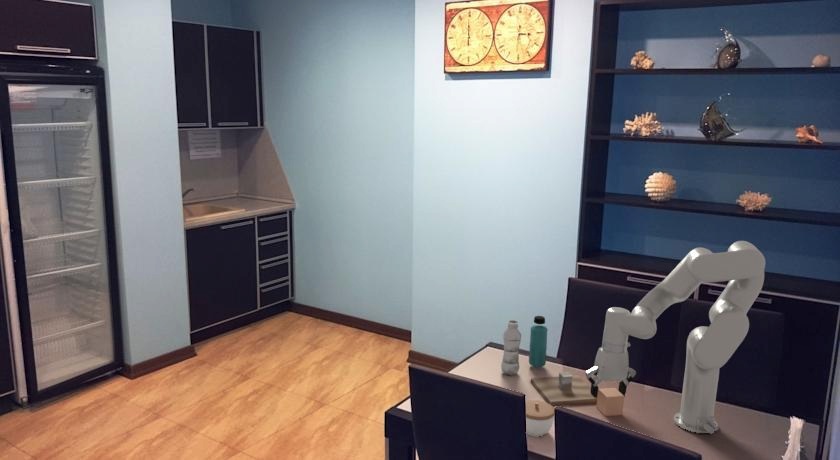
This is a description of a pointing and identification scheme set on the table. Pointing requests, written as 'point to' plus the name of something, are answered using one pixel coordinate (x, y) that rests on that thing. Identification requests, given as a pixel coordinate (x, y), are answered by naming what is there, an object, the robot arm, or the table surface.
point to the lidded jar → (538, 417)
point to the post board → (563, 395)
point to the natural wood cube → (610, 401)
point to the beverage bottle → (538, 342)
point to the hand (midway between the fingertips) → (607, 395)
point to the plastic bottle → (511, 349)
